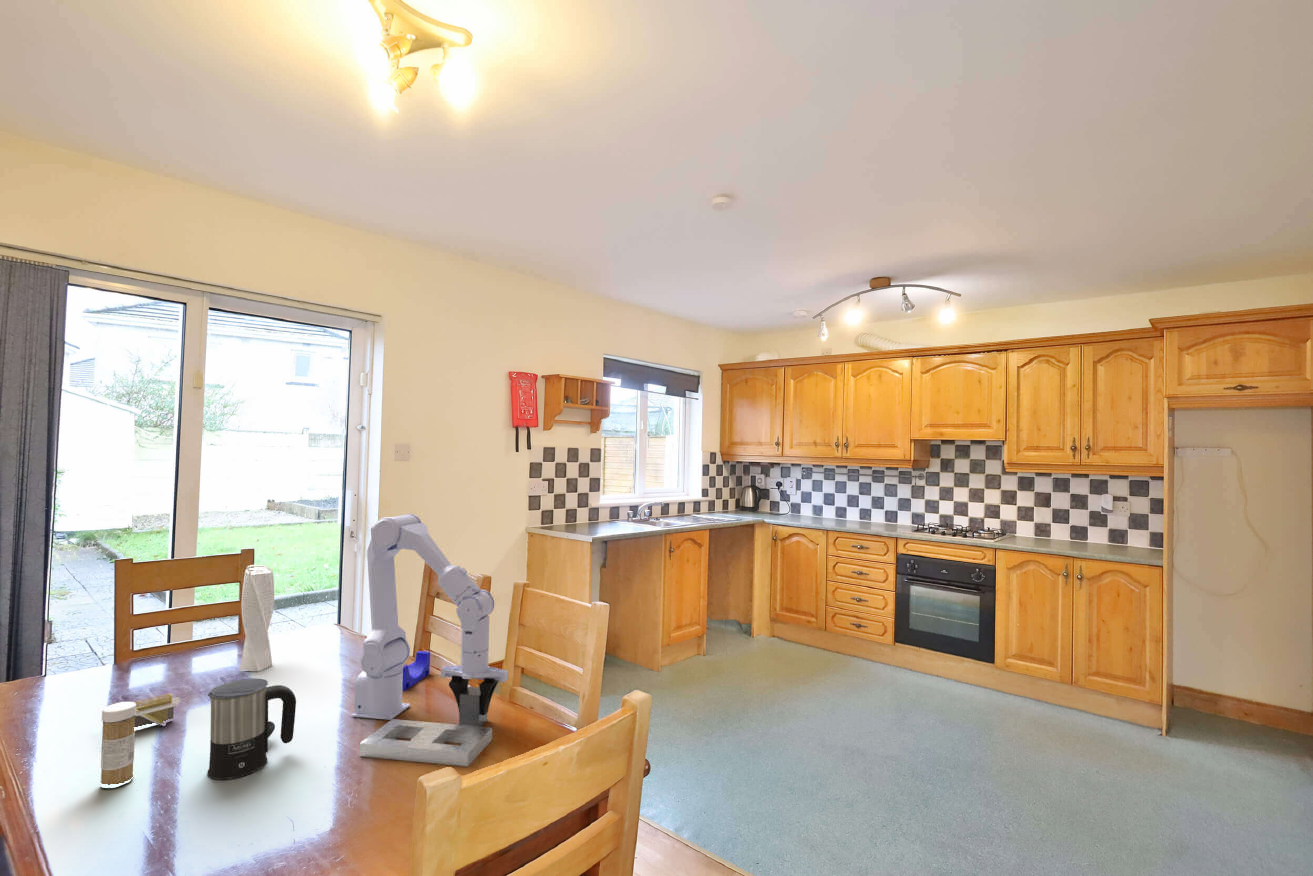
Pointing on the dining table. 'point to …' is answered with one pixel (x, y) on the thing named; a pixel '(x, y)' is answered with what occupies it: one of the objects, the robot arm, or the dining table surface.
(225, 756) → the milk frother
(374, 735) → the grey flat slab
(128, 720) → the sprinkles bottle
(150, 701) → the platform
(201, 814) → the dining table surface
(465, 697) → the upright grey block
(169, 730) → the dining table surface
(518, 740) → the dining table surface
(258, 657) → the skyscraper
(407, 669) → the cable clip
